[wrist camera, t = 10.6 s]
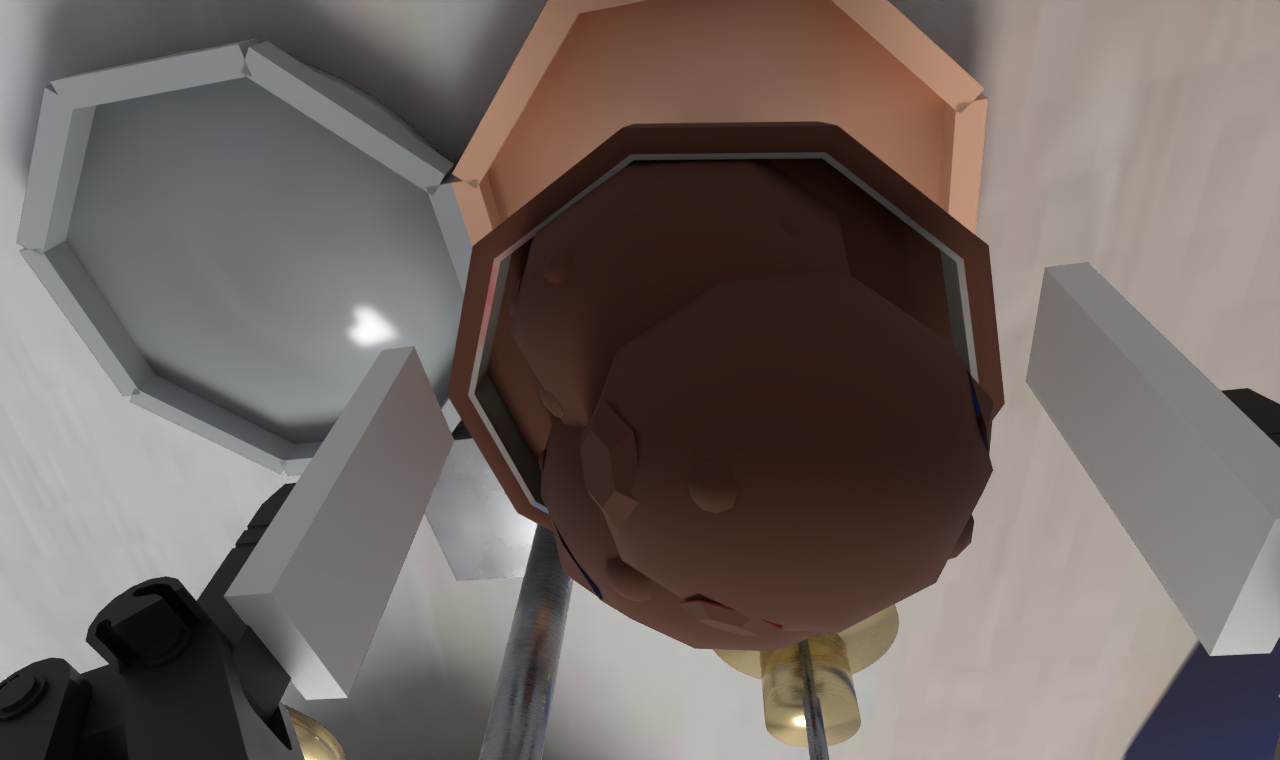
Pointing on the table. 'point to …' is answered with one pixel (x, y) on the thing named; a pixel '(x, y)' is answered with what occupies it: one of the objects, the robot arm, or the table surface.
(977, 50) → the table surface
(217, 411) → the slate dish
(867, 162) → the ice cream bowl
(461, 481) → the balance
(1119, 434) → the robot arm
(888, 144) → the terracotta dish
